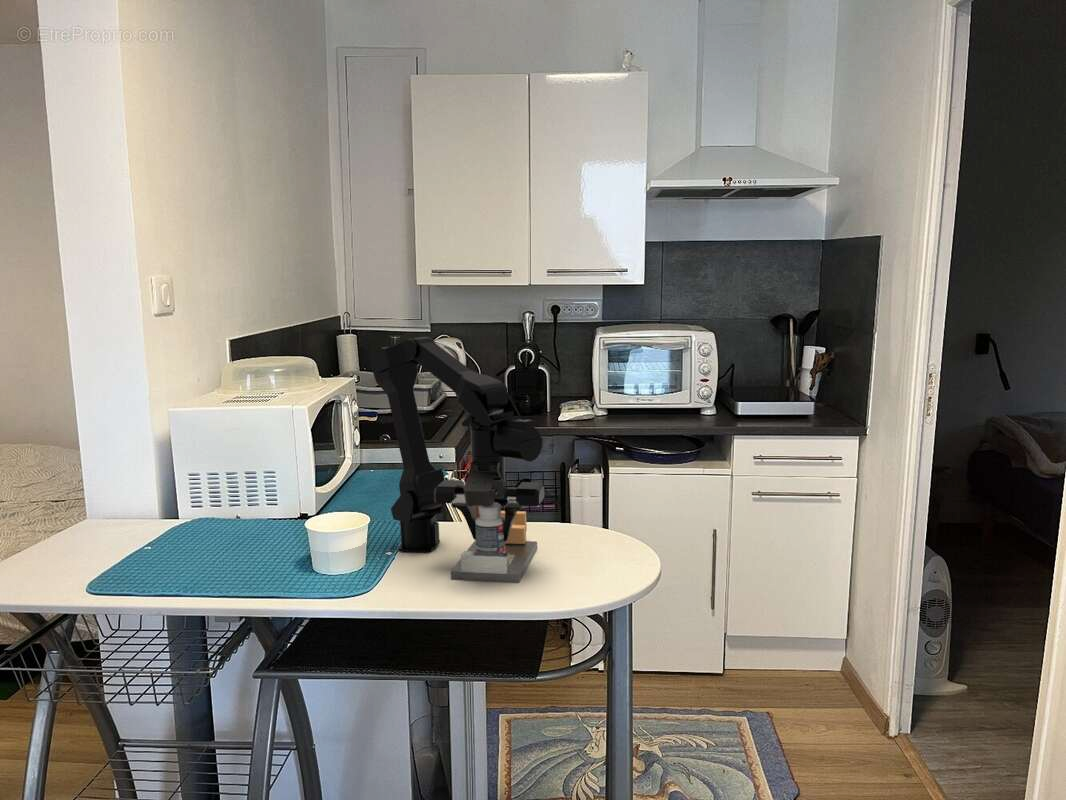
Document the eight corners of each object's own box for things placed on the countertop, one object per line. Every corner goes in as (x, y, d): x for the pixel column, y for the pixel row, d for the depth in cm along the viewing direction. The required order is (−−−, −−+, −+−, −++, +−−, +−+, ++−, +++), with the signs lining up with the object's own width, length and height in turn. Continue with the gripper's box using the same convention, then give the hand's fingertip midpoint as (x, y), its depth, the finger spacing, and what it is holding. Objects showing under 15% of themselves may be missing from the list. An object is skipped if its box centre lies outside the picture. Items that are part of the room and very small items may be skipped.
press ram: (482, 542, 150) (481, 522, 150) (492, 529, 158) (491, 510, 157) (524, 543, 149) (523, 523, 148) (531, 531, 156) (531, 511, 155)
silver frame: (450, 579, 137) (449, 554, 136) (476, 546, 153) (475, 524, 153) (518, 582, 135) (518, 557, 134) (537, 549, 151) (536, 526, 150)
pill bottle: (503, 558, 138) (502, 509, 136) (474, 558, 138) (472, 509, 137) (507, 548, 143) (506, 500, 142) (479, 548, 144) (477, 500, 142)
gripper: (421, 463, 132) (425, 553, 134) (531, 465, 128) (534, 558, 131) (441, 448, 143) (445, 532, 145) (543, 450, 139) (545, 536, 142)
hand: (490, 539), depth 140 cm, fingers closed on pill bottle, 5 cm apart
